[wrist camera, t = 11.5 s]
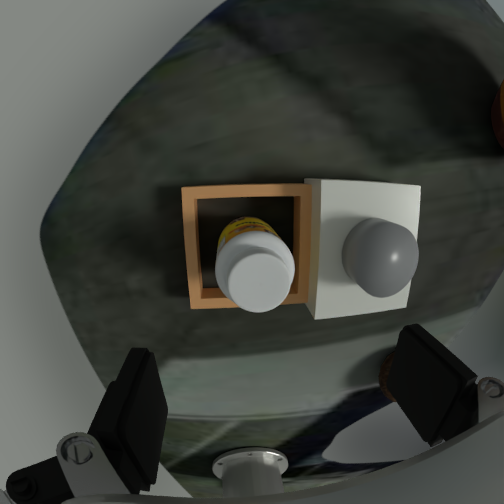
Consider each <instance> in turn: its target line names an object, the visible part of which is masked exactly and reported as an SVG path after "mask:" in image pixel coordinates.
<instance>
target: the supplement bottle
mask: <svg viewBox="0 0 504 504" xmlns="http://www.w3.org/2000/svg"><path fill="white" fill-rule="evenodd" d="M294 272H295V266H294V260H293V256H292V254H291V252H290V250H289V248H288V247H287V245H286V244H285V243H284V242H283V241H282V239H281V238H280V237H279V236H278V235H277V233H276V232H275V231H274V230H273V229H272V227H271V226H270V225H269V224H267V223H266V222H265V221H263V220H261V219H259V218H256V217H241V218H238V219H235V220H233V221H232V222H230V223H229V224H228V225H227V226H226V227H225V228H224V229H223V231H222V233H221V235H220V237H219V241H218V248H217V257H216V264H215V274H216V279H217V283H218V285H219V287H220V289H221V291H222V292H223V293H224V294H225V296H226V297H227V298H228V299H230V300H231V301H233V302H234V303H235V304H237V305H238V306H239V307H241V308H242V309H244V310H247V311H250V312H265V311H269V310H271V309H273V308H275V307H277V306H278V305H280V304H281V303H282V302H283V301H284V299H285V298H286V296H287V295H288V293H289V290H290V286H291V283H292V281H293V277H294Z"/></svg>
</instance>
